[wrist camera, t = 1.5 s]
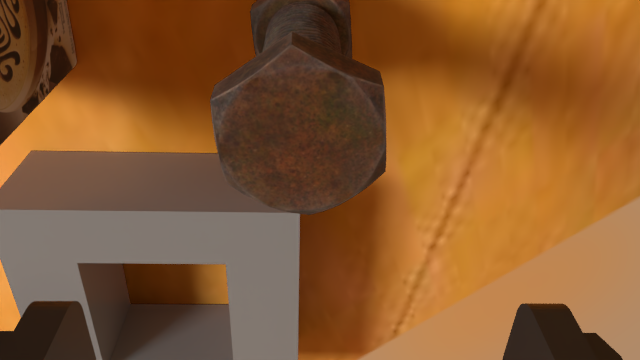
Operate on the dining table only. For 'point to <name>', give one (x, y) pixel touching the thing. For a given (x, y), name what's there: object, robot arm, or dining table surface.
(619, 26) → the dining table surface
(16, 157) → the dining table surface
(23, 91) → the coffee box
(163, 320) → the socket block
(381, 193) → the dining table surface
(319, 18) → the bolt
